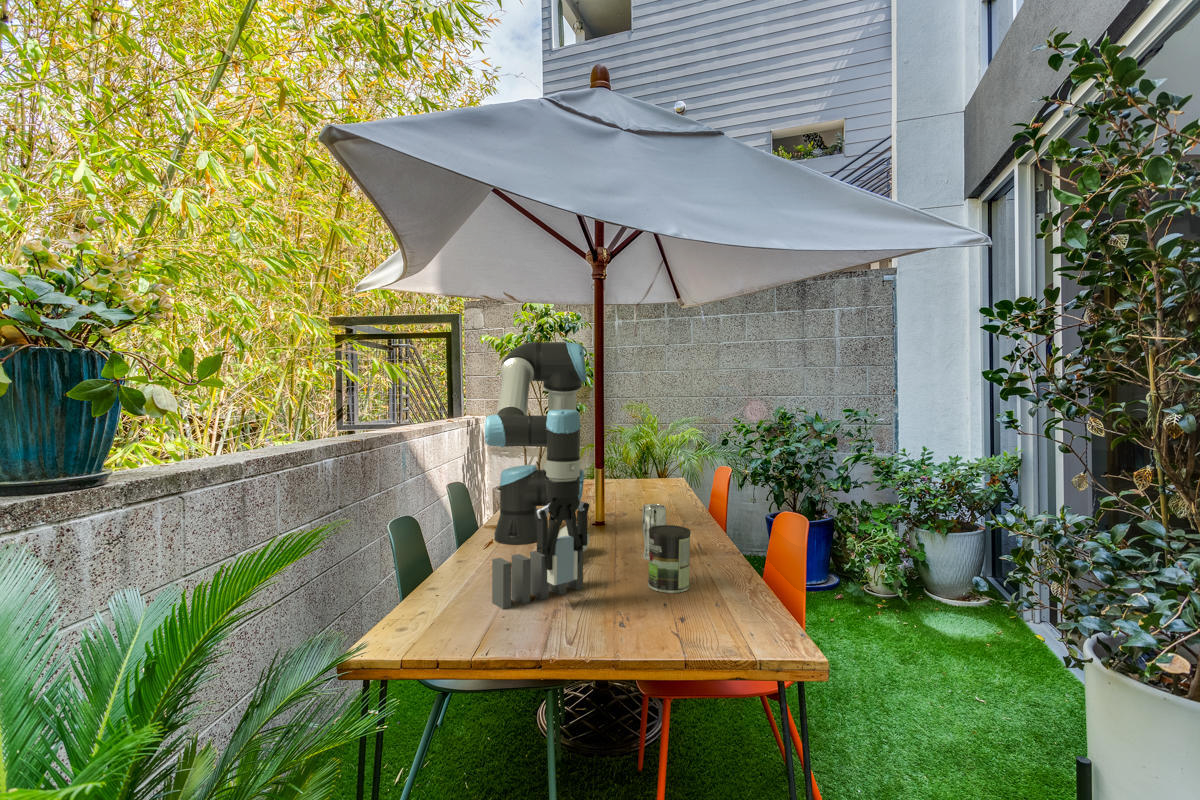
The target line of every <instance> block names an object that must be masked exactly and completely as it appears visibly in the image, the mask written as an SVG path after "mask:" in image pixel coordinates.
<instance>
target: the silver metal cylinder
mask: <svg viewBox="0 0 1200 800" xmlns="http://www.w3.org/2000/svg"><path fill="white" fill-rule="evenodd" d="M666 510H667V509H666V505H664V504H661V503H660V504H659V503H647V504H643V505H642V514H641V527H642V528H641V529H642V534H643V541H644V550H643V555H642V558H643V559H644V560H646V561H649V528H651V527H654V526H659V525H667V511H666Z"/></svg>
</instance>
